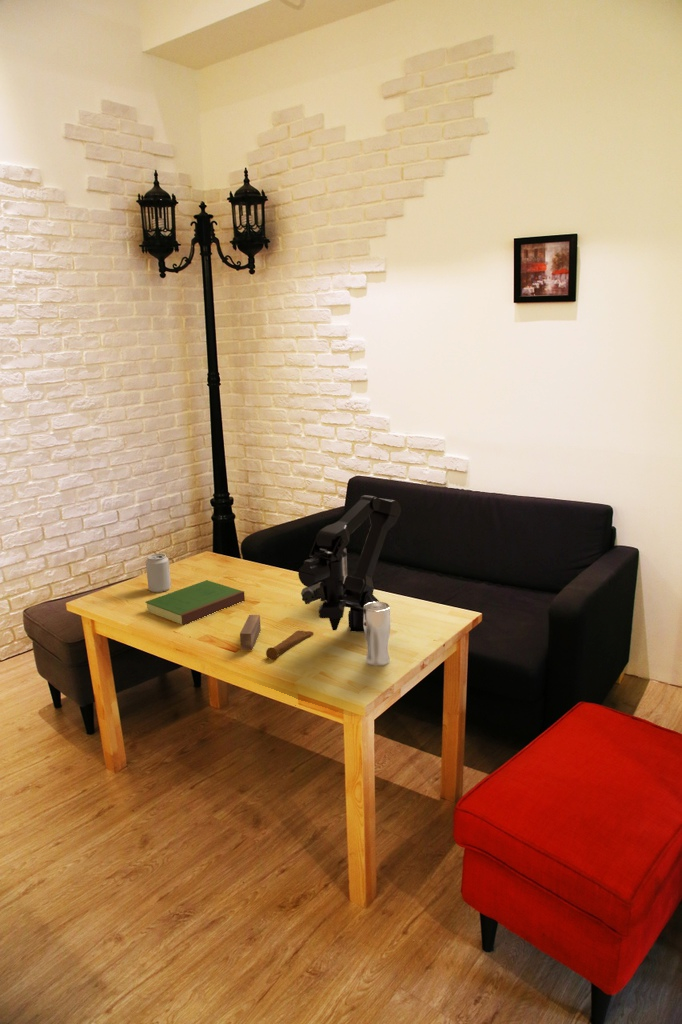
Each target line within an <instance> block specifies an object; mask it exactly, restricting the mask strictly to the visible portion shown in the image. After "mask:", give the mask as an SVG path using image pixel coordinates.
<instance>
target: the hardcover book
mask: <svg viewBox="0 0 682 1024" xmlns="http://www.w3.org/2000/svg"><path fill="white" fill-rule="evenodd" d="M245 597H246V596H245V591H244V590H239V589H238V588H234V587H231V586H227V585H224V584H221V583H219V582H218V583H217V582H214V581H211V580H208V579H206V580H202V581H200V582H198V583H195V584H191V585H189V586H186V587H183V588H180V589H177V590H175V591H173V592H169V593H167V594H163V595H161V596H158V597H155V598H152V599H149V600H146V601H145V602H144V603H145V604H146V609H147V612H148V613H151V614H153V615H157V616H158V617H162V618H164V619H167V620H169V621H171V620H172V622H174V623H177V624H179V623H180V625H182V626H185V624H186V625H188V624H191V623H193V622H192V621H194V622H196V621H198V620H197V619H199V618H201V619H203V618H202V617H204V616H206V617H208V616H207V615H209V614H211V615H213V614H212V613H214V612H216V611H219V610H221V609H224V608H226V609H228V608H227V607H229V608H231V607H233V606H232V605H234V604H236V605H238V604H237V603H239V602H241V603H243V602H242V601H244V602H246V600H245ZM239 604H240V603H239ZM230 606H231V607H230ZM234 606H235V605H234ZM224 610H225V609H224ZM221 611H222V610H221ZM219 612H220V611H219ZM216 613H217V612H216ZM214 614H215V613H214ZM209 616H210V615H209ZM204 618H205V617H204ZM195 620H196V621H195ZM199 620H200V619H199ZM190 622H191V623H190Z"/></svg>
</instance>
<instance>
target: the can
mask: <svg viewBox="0 0 682 1024" xmlns="http://www.w3.org/2000/svg"><path fill="white" fill-rule="evenodd" d="M146 558H147V559H146V561H145V569H146V579H147V586H148V590H150V591H151V592H152V593H164V592H167V591H169V590H170V588H171V587H172V580H171V571H170V561H169V560H170V559H169V558H168V557H167V555H166V553H153V554H149V555H148V556H147V557H146ZM166 590H167V591H166ZM163 591H164V592H163Z"/></svg>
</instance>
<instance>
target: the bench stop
mask: <svg viewBox="0 0 682 1024" xmlns="http://www.w3.org/2000/svg"><path fill="white" fill-rule="evenodd" d="M261 629H262V628H261V614H249V615H248V616H247V619H246V621H245V622H244V625H243V627H242V629H241V631H240V632H239V642H240V651H241V650H252V649H253V650H254V648H253V647H255V646H256V643H257V641H258V639H257V638H259V636H260V634H261V632H260V631H262V630H261ZM259 633H260V634H259ZM256 640H257V641H256ZM255 642H256V643H255ZM253 650H252V651H253Z"/></svg>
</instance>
